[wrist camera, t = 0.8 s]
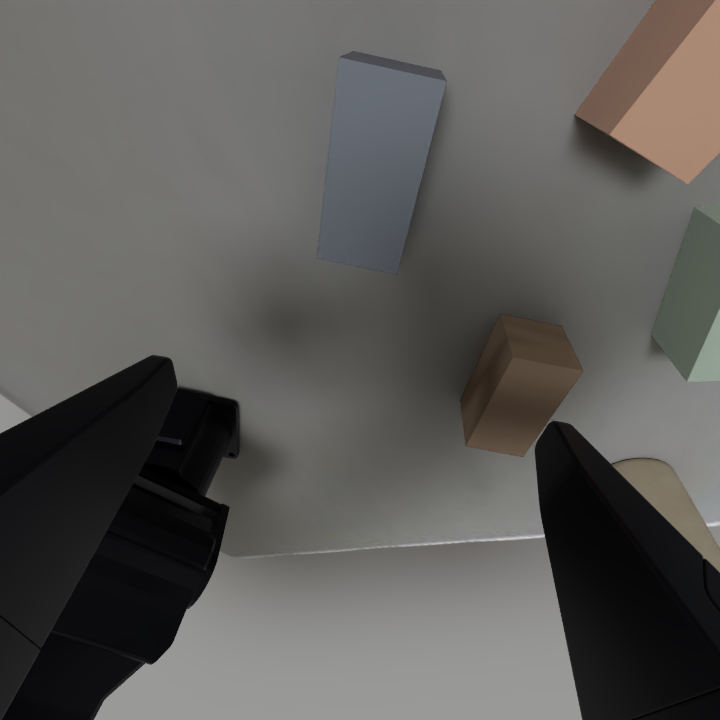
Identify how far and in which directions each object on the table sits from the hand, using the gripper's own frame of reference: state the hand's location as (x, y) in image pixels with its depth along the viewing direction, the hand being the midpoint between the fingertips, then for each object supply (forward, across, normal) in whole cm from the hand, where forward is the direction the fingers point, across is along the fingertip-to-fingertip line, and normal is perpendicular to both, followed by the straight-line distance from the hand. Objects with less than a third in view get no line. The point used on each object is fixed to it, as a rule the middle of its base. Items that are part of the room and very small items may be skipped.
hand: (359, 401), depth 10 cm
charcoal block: (+13, +1, -2) cm, 13 cm away
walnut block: (+13, -9, +8) cm, 18 cm away
